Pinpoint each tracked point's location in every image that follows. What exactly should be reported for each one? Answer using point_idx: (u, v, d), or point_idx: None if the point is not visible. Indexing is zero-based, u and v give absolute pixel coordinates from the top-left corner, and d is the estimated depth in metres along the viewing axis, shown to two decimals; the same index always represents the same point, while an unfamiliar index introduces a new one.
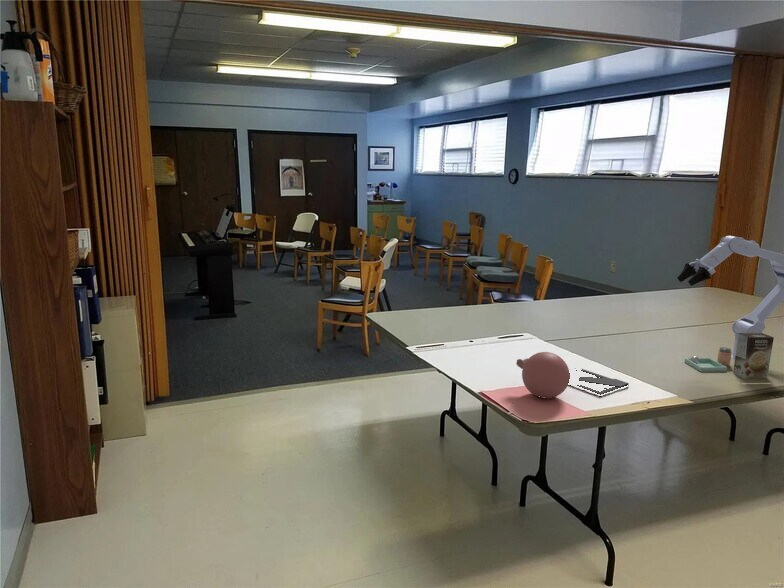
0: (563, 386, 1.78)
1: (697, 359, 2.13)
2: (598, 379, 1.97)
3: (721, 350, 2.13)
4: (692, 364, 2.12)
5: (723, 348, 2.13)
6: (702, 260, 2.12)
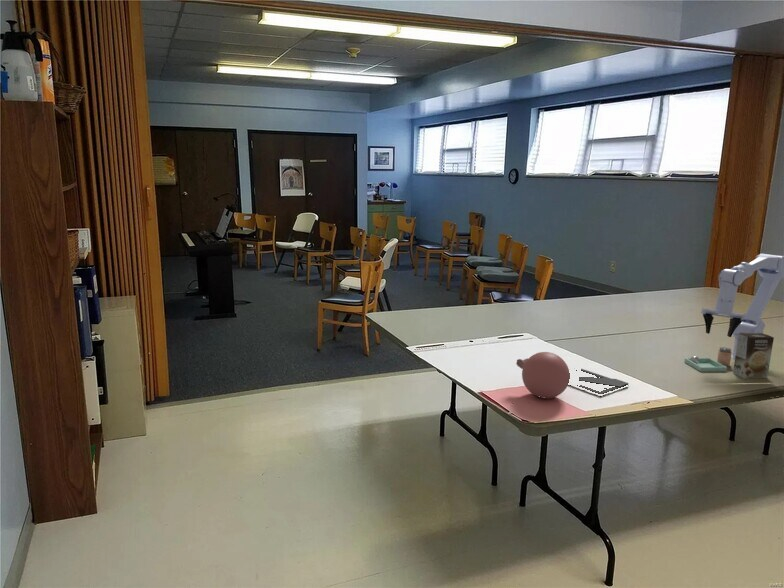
0: (563, 386, 1.78)
1: (697, 359, 2.13)
2: (597, 379, 1.97)
3: (721, 350, 2.13)
4: (692, 364, 2.12)
5: (723, 348, 2.13)
6: (728, 311, 2.07)
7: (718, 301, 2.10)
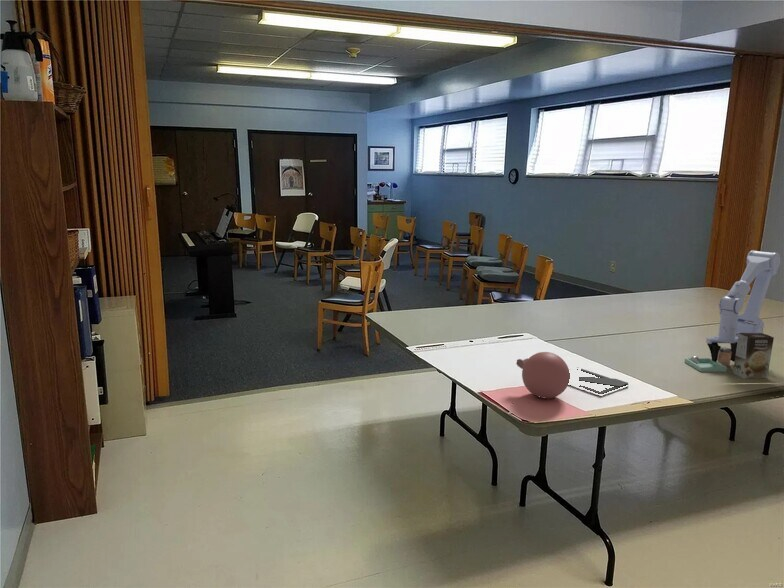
0: (563, 386, 1.78)
1: (697, 359, 2.13)
2: (597, 379, 1.97)
3: (721, 350, 2.13)
4: (692, 364, 2.12)
5: (723, 348, 2.13)
6: (733, 338, 2.10)
7: (722, 329, 2.11)
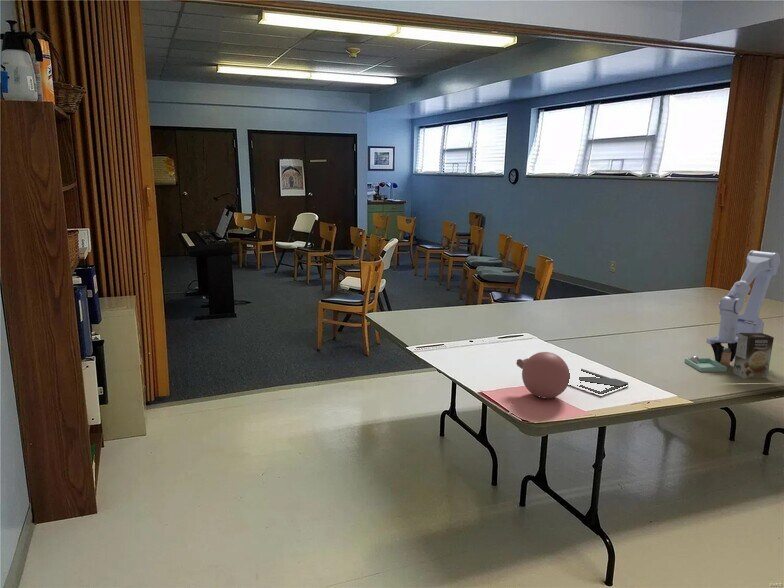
0: (563, 386, 1.78)
1: (697, 359, 2.13)
2: (597, 379, 1.97)
3: None
4: (692, 364, 2.12)
5: None
6: (733, 338, 2.10)
7: (722, 329, 2.11)
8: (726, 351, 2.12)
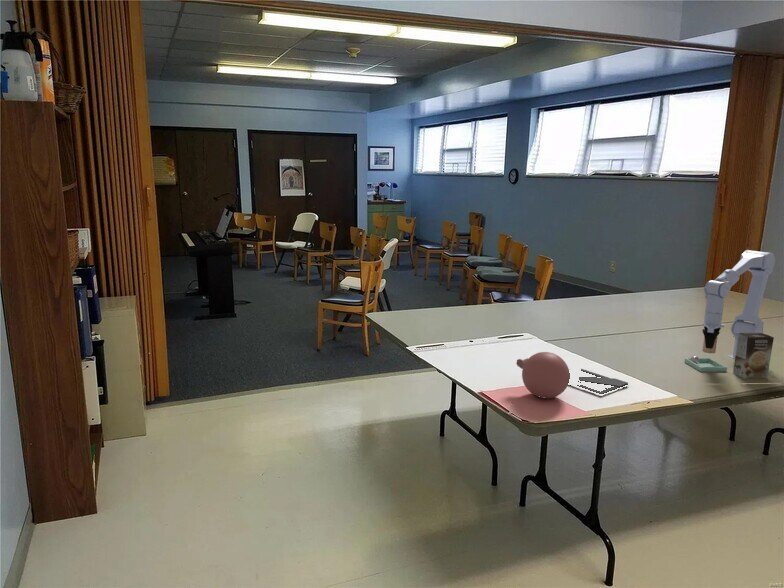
0: (563, 386, 1.78)
1: (697, 359, 2.13)
2: (597, 379, 1.97)
3: None
4: (692, 364, 2.12)
5: None
6: None
7: (715, 315, 2.05)
8: None
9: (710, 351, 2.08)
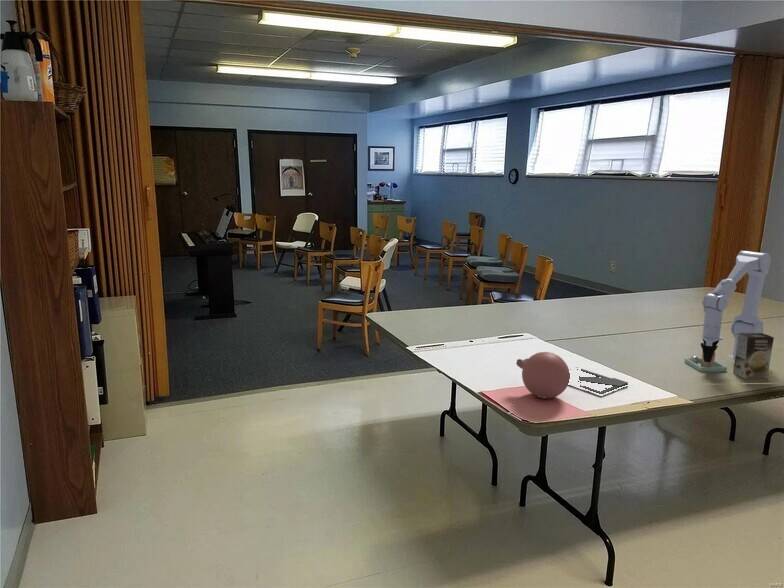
0: (563, 386, 1.78)
1: (697, 359, 2.13)
2: (597, 379, 1.98)
3: None
4: (692, 364, 2.12)
5: None
6: None
7: (713, 329, 2.06)
8: (714, 352, 2.09)
9: (708, 366, 2.10)
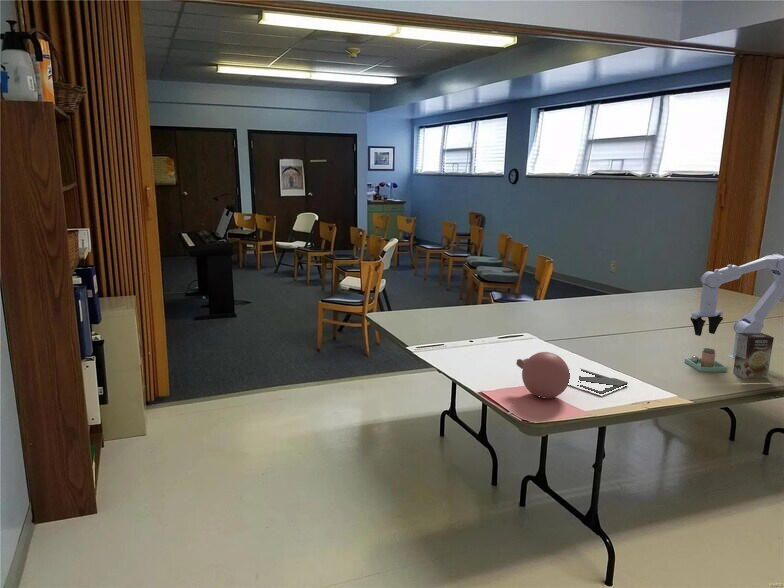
0: (563, 386, 1.78)
1: (697, 359, 2.13)
2: (597, 379, 1.98)
3: (710, 352, 2.09)
4: (692, 364, 2.12)
5: (708, 349, 2.10)
6: (715, 311, 2.18)
7: (705, 304, 2.18)
8: (714, 352, 2.09)
9: (708, 366, 2.10)
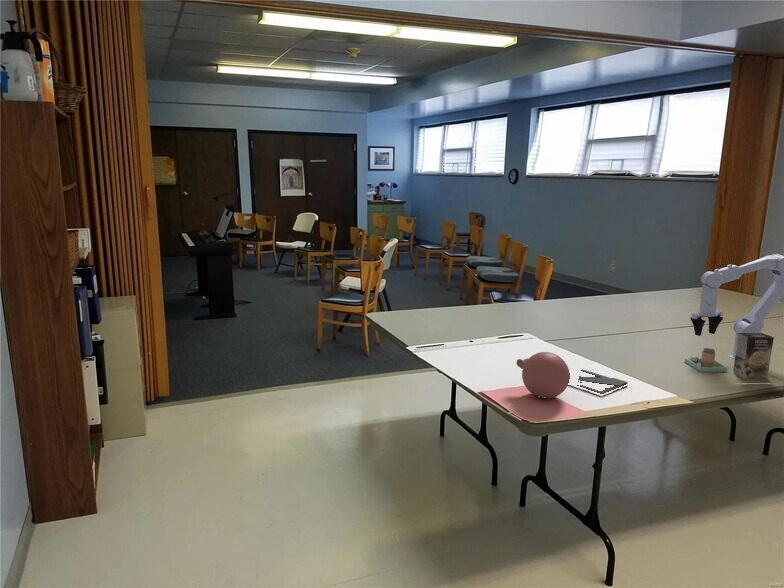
0: (563, 386, 1.78)
1: (697, 359, 2.13)
2: (597, 378, 1.98)
3: (710, 352, 2.09)
4: (692, 364, 2.12)
5: (708, 349, 2.10)
6: (715, 311, 2.18)
7: (705, 304, 2.18)
8: (714, 352, 2.09)
9: (708, 366, 2.10)
